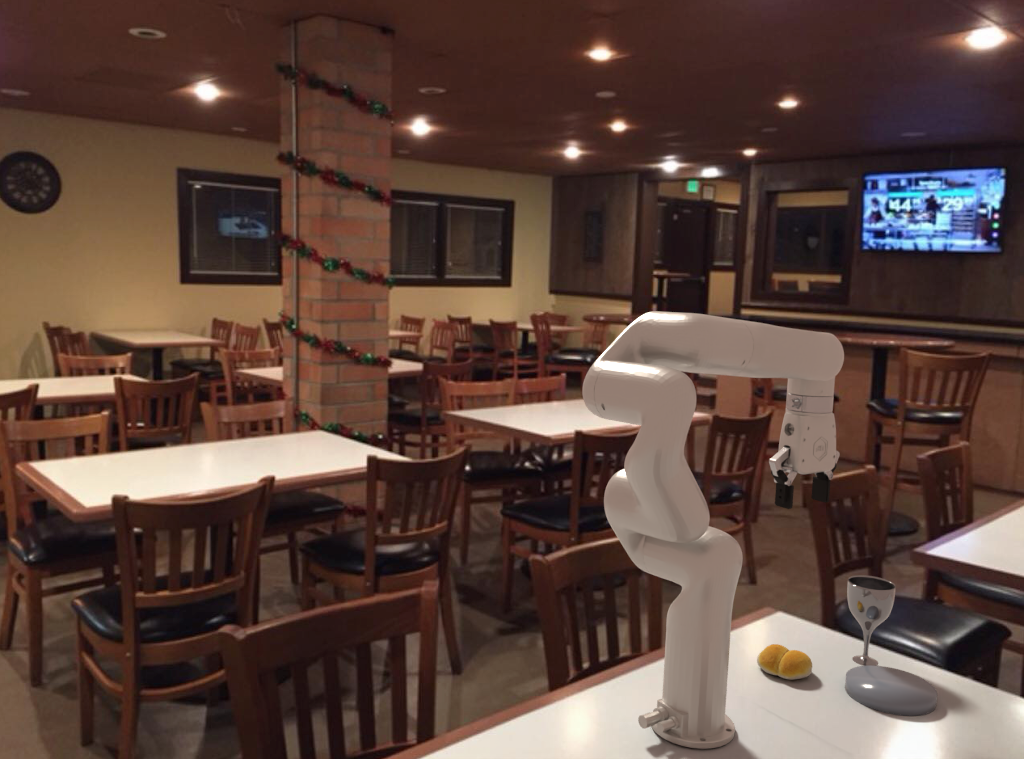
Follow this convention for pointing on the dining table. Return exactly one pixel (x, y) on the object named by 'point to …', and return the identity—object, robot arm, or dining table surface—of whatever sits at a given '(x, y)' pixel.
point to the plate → (891, 690)
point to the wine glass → (869, 607)
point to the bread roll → (784, 662)
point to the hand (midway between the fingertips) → (802, 503)
